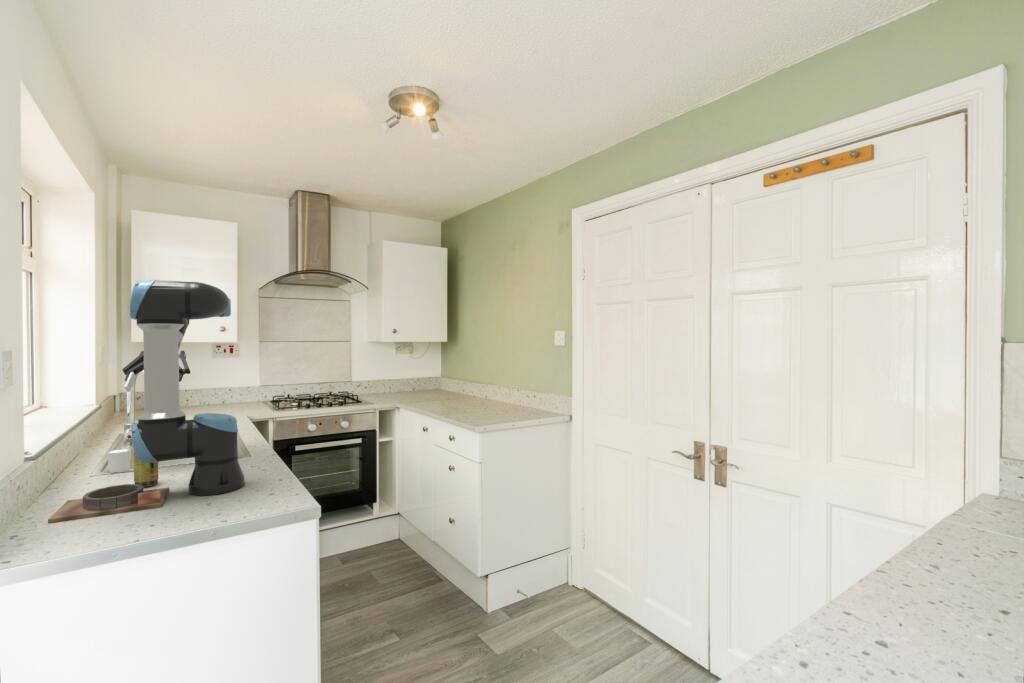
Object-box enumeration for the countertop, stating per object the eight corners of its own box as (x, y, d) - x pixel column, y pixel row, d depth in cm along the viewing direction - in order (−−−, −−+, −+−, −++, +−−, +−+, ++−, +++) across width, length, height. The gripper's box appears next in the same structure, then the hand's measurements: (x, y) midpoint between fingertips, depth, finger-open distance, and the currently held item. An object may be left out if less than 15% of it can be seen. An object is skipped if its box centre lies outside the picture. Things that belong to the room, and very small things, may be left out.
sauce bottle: (155, 487, 155) (153, 424, 154) (131, 489, 153) (129, 426, 152) (161, 481, 161) (160, 421, 161) (138, 483, 159) (136, 422, 158)
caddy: (169, 490, 152) (169, 477, 152) (161, 507, 138) (161, 492, 138) (67, 503, 140) (67, 490, 140) (48, 523, 126) (47, 507, 126)
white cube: (101, 472, 171) (101, 452, 171) (121, 467, 178) (121, 448, 178) (117, 474, 169) (116, 453, 169) (136, 468, 176) (136, 449, 176)
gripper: (208, 349, 187) (194, 394, 173) (133, 350, 181) (111, 396, 167) (203, 336, 182) (188, 380, 167) (125, 336, 175) (102, 382, 161)
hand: (149, 388), depth 167 cm, fingers open, 13 cm apart
